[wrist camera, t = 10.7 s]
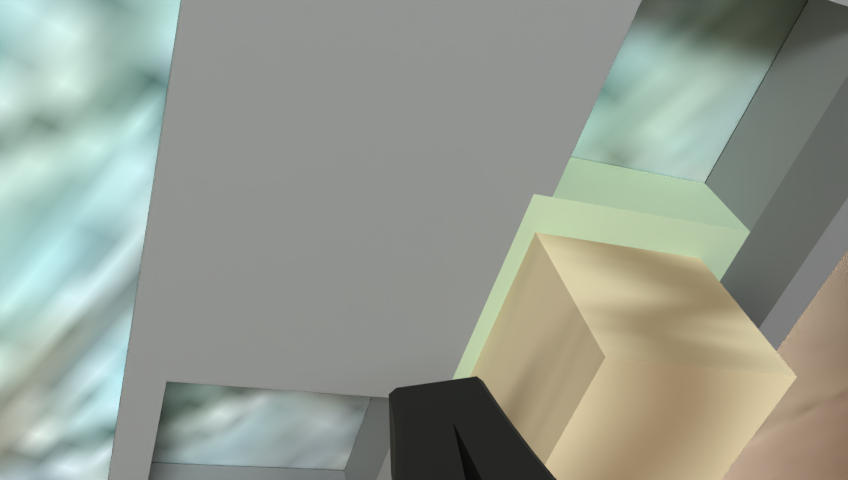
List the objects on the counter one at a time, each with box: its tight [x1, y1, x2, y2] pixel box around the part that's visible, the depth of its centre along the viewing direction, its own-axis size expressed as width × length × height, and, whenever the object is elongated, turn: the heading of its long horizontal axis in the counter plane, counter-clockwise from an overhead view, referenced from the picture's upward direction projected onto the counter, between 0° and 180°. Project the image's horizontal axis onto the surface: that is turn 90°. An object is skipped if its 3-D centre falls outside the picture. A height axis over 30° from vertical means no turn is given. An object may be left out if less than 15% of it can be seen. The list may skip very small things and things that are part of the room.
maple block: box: [470, 232, 797, 480], centre depth 20 cm, size 5×5×4 cm
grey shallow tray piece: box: [108, 0, 848, 480], centre depth 21 cm, size 16×21×4 cm
